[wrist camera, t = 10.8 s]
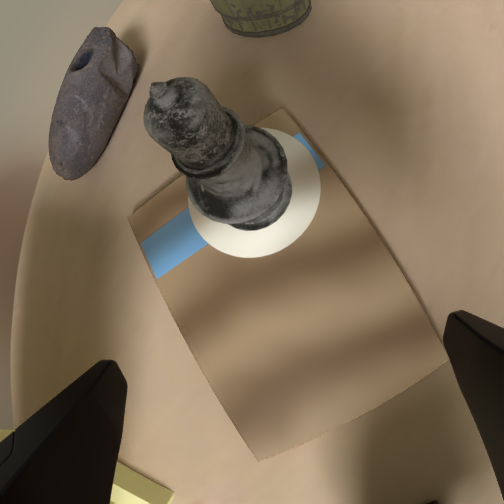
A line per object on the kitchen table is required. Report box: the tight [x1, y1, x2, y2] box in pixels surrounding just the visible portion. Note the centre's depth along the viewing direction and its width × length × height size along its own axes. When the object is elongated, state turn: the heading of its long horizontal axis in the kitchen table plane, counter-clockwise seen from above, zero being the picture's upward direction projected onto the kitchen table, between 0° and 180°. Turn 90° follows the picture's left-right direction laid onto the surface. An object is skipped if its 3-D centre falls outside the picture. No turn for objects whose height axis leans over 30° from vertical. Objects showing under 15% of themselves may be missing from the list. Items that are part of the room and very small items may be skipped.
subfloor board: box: [128, 108, 449, 462], centre depth 20 cm, size 20×14×1 cm
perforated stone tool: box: [49, 27, 139, 181], centre depth 23 cm, size 15×5×7 cm, turn 165°
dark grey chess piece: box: [144, 77, 292, 231], centre depth 15 cm, size 6×6×12 cm
